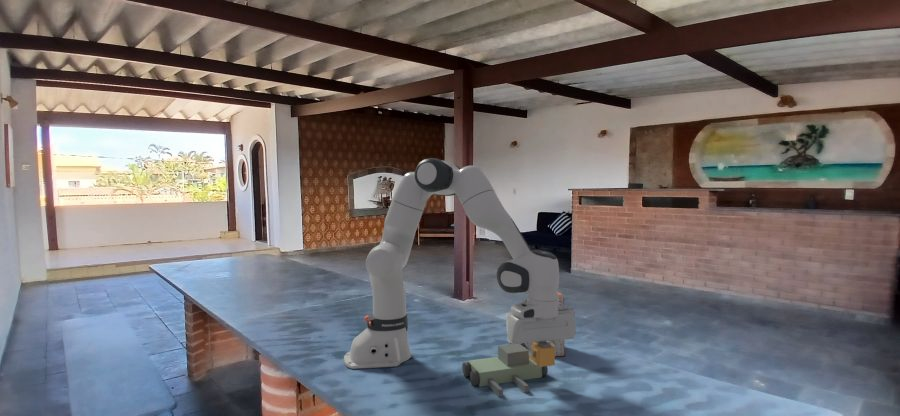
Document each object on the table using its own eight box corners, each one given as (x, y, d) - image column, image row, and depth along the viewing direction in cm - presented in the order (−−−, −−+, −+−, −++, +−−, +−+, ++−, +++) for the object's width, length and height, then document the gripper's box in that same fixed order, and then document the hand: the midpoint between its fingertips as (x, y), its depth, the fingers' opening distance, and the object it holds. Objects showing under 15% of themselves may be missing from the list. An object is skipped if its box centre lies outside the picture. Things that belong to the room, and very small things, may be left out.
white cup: (527, 345, 166) (527, 318, 166) (505, 344, 168) (504, 317, 167) (528, 338, 174) (527, 312, 174) (506, 337, 176) (506, 311, 175)
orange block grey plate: (540, 366, 128) (540, 346, 128) (528, 357, 135) (529, 338, 135) (554, 365, 130) (555, 344, 130) (542, 356, 136) (543, 336, 136)
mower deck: (484, 399, 124) (484, 370, 124) (462, 373, 142) (461, 347, 142) (560, 387, 131) (560, 359, 131) (530, 364, 149) (530, 339, 148)
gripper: (568, 302, 138) (567, 348, 138) (505, 307, 132) (504, 355, 133) (580, 308, 132) (579, 356, 132) (514, 313, 126) (513, 363, 126)
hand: (541, 355), depth 132 cm, fingers closed on orange block grey plate, 4 cm apart
